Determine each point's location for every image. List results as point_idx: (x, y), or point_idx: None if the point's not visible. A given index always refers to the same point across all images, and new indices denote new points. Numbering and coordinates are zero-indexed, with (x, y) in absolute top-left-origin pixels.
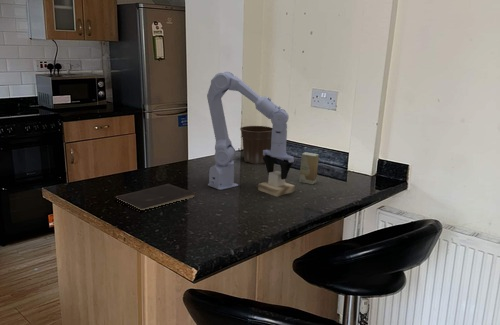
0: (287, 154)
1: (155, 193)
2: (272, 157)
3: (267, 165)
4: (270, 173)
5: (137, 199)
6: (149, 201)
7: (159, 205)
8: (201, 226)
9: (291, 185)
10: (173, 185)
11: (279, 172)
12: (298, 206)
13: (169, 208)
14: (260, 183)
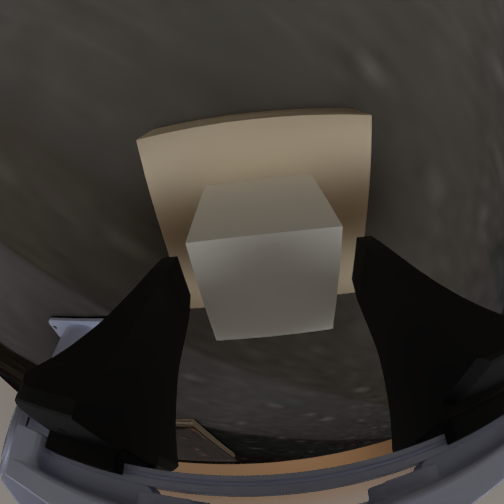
0: (471, 500)
1: None
2: (130, 446)
3: (171, 389)
4: (238, 335)
5: (194, 457)
6: (211, 455)
7: (224, 449)
8: (346, 432)
9: (354, 139)
10: None
11: (264, 262)
12: (472, 263)
13: (238, 443)
14: None
